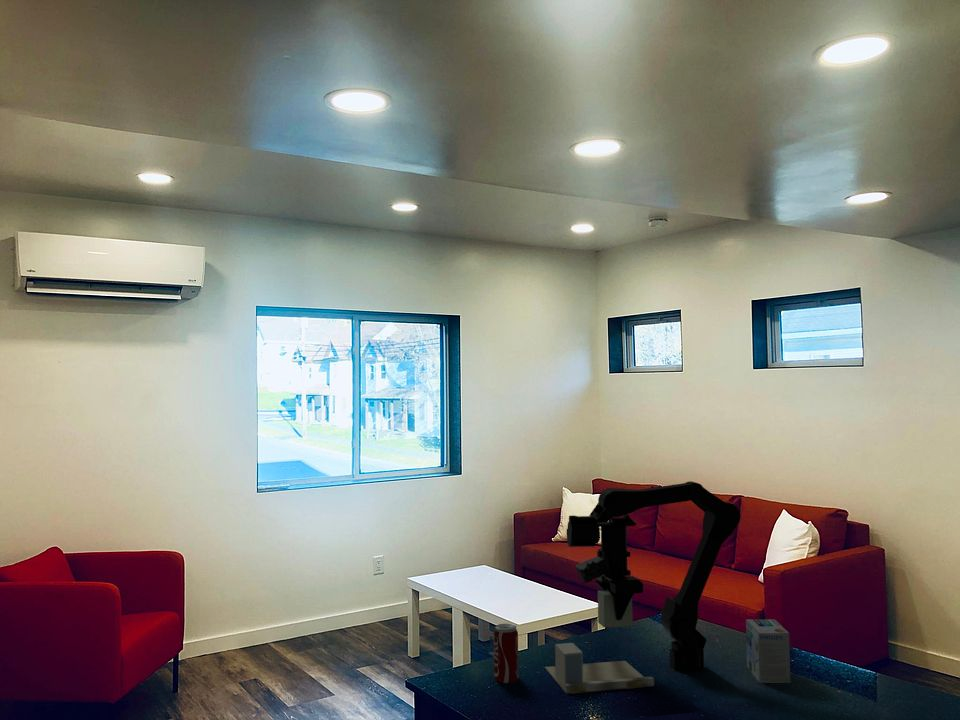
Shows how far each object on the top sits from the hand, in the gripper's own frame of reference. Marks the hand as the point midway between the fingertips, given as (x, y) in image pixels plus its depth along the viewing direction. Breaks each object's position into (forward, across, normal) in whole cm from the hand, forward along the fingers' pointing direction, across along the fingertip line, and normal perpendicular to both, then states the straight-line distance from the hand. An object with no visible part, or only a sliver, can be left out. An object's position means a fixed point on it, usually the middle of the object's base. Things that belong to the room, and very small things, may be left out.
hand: (615, 617), depth 169 cm
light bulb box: (+12, +8, +32) cm, 35 cm away
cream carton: (+11, +5, -12) cm, 18 cm away
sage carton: (+2, 0, 0) cm, 2 cm away
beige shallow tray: (+12, +3, -5) cm, 14 cm away
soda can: (+13, 0, -25) cm, 28 cm away
